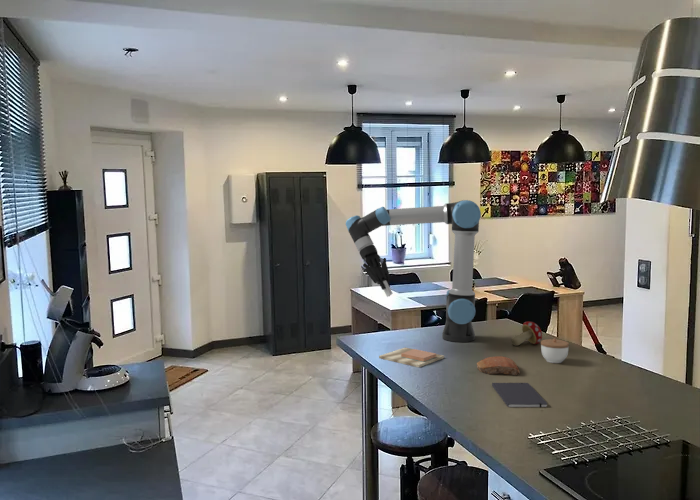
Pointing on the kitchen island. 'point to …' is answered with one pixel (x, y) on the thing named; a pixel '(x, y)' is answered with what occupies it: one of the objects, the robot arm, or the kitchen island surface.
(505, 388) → the notebook
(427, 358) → the tile
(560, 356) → the lidded jar
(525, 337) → the decorative mushroom
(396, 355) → the board
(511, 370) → the ceramic shard
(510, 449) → the kitchen island surface
